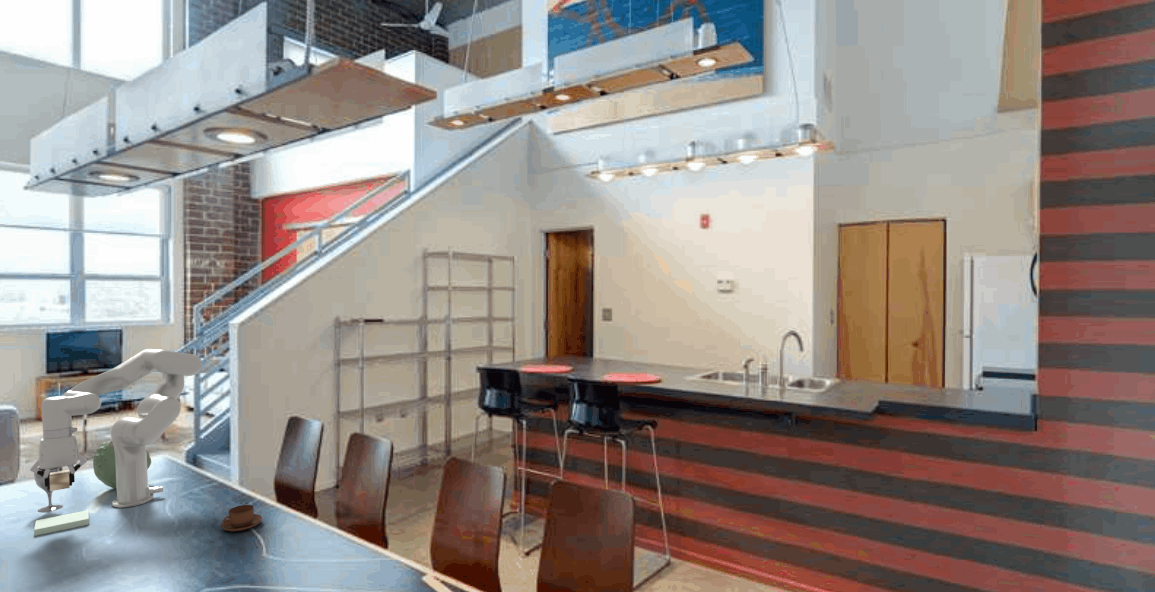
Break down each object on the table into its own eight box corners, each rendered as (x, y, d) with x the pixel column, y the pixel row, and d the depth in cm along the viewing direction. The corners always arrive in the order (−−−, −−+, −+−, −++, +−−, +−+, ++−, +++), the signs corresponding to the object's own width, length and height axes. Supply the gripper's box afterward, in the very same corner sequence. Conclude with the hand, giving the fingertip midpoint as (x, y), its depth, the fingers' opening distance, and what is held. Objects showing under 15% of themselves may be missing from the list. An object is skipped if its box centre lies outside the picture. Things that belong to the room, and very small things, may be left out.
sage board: (88, 515, 218) (88, 509, 218) (89, 524, 210) (88, 518, 210) (36, 526, 210) (36, 520, 210) (34, 535, 202) (34, 529, 202)
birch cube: (69, 484, 213) (69, 469, 213) (69, 487, 209) (68, 473, 209) (50, 487, 210) (50, 472, 210) (50, 491, 206) (49, 476, 206)
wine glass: (70, 504, 229) (68, 464, 229) (50, 513, 221) (47, 471, 221) (50, 504, 230) (48, 464, 229) (29, 512, 222) (27, 471, 221)
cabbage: (159, 483, 251) (157, 434, 250) (104, 498, 235) (102, 446, 234) (141, 477, 259) (138, 429, 258) (87, 491, 243) (84, 441, 242)
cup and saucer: (244, 535, 200) (243, 517, 199) (212, 533, 202) (211, 514, 202) (270, 521, 211) (269, 503, 211) (239, 518, 214) (238, 501, 214)
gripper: (89, 427, 217) (92, 478, 218) (24, 435, 206) (27, 489, 207) (89, 431, 211) (92, 484, 212) (23, 440, 200) (25, 495, 201)
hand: (60, 486), depth 209 cm, fingers closed on birch cube, 5 cm apart
